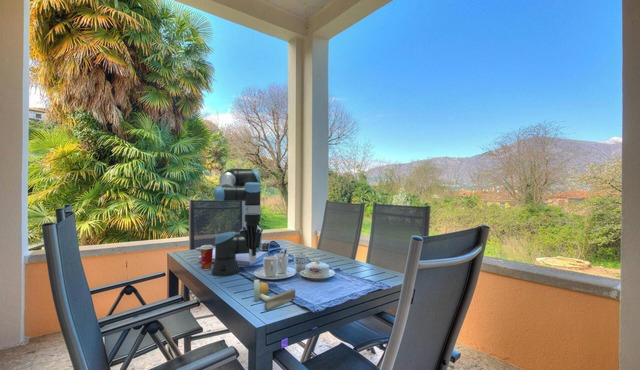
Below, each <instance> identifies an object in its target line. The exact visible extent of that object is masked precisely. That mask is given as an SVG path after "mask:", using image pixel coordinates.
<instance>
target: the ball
mask: <svg viewBox="0 0 640 370" xmlns="http://www.w3.org/2000/svg"><path fill="white" fill-rule="evenodd" d="M259 284H260V294H264V295H268V292H269V290H270V288H269V285H268V283H266V282H264V281H260V282H259Z"/></svg>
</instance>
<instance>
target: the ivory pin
mask: <svg viewBox="0 0 640 370" xmlns="http://www.w3.org/2000/svg"><path fill="white" fill-rule="evenodd" d="M270 297H271V296H269V295H268V294H266V295H264V294H260V301H264V302H265V299H268V298H270Z"/></svg>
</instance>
